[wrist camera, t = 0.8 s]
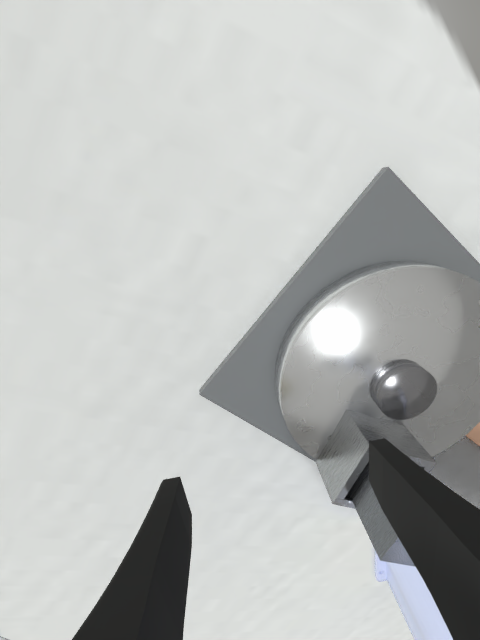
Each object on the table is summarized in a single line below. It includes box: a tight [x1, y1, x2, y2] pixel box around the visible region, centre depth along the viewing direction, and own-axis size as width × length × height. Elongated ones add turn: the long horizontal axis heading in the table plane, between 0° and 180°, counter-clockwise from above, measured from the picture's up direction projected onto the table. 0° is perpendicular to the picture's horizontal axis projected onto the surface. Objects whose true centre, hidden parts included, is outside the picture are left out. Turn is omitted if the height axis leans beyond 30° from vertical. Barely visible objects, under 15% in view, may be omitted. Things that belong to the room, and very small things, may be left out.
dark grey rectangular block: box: [348, 462, 415, 567], centre depth 18 cm, size 3×3×6 cm
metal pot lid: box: [274, 261, 480, 509], centre depth 19 cm, size 15×15×5 cm
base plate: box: [200, 167, 480, 462], centre depth 22 cm, size 18×18×1 cm
